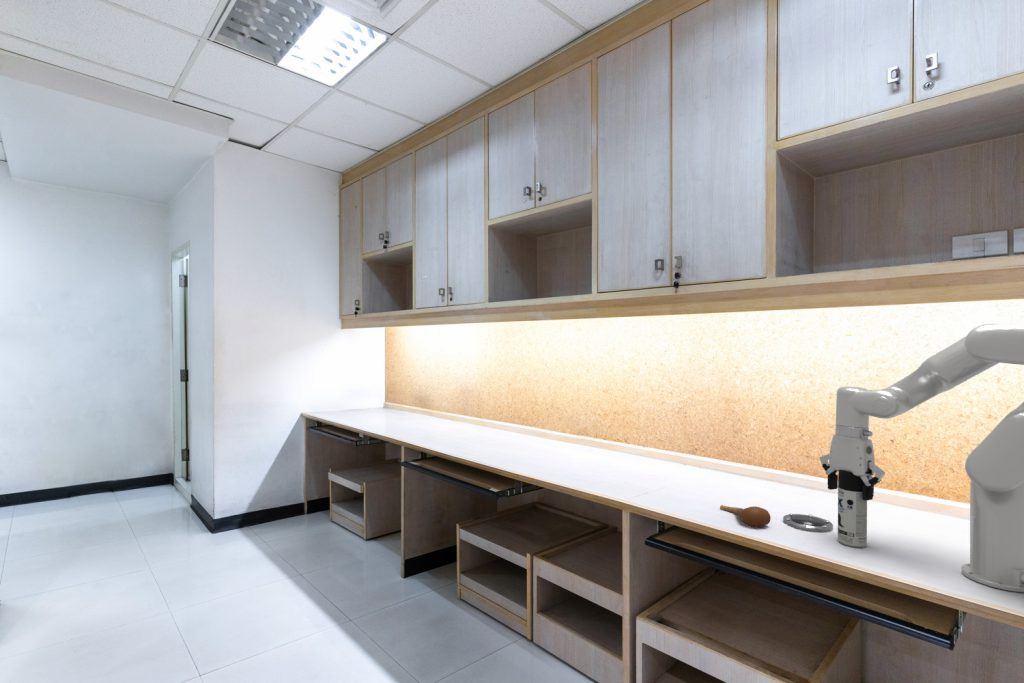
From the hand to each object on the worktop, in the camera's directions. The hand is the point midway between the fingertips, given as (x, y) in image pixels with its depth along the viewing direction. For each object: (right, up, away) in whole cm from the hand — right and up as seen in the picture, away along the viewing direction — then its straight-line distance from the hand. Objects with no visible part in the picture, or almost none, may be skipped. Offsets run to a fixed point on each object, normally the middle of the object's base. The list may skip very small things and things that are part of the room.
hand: (849, 494), depth 139 cm
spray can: (0, -14, -1) cm, 14 cm away
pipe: (-22, -14, +18) cm, 32 cm away
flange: (-3, -13, +14) cm, 20 cm away
